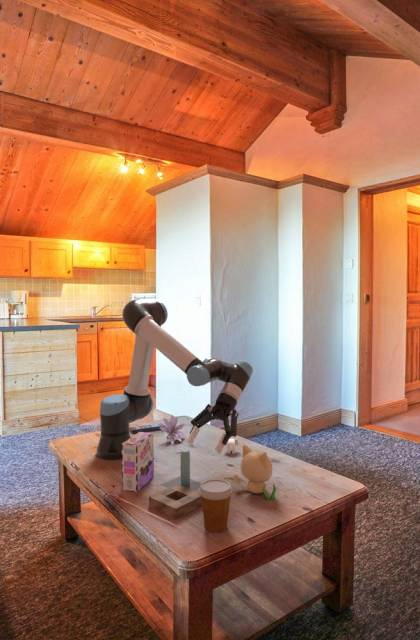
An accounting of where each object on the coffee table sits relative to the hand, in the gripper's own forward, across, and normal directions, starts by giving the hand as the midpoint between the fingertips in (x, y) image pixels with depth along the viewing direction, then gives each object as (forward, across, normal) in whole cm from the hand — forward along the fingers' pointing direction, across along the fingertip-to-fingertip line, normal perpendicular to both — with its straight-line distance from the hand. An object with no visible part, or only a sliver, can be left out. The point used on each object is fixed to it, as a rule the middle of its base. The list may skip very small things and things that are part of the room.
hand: (202, 447), depth 156 cm
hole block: (+22, -7, +6) cm, 24 cm away
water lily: (-8, +39, -25) cm, 47 cm away
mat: (+14, +2, -3) cm, 14 cm away
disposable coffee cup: (+23, -24, +6) cm, 34 cm away
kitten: (+5, -20, -12) cm, 24 cm away
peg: (+14, +1, -2) cm, 14 cm away
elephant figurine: (-11, +10, -29) cm, 32 cm away
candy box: (+20, +15, +4) cm, 26 cm away
